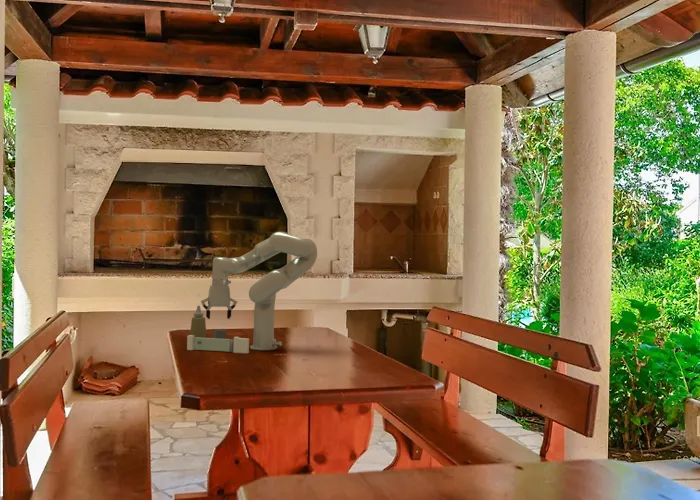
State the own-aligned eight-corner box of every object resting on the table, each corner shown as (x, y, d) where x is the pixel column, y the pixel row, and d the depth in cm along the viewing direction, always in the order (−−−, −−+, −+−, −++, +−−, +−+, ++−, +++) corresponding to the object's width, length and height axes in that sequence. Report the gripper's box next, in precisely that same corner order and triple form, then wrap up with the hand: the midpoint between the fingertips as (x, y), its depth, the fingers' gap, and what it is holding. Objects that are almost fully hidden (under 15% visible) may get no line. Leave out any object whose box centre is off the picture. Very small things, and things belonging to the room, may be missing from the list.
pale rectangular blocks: (249, 352, 345) (249, 337, 345) (247, 353, 342) (247, 338, 342) (189, 349, 352) (189, 334, 352) (186, 349, 349) (187, 334, 349)
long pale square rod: (233, 351, 346) (233, 339, 346) (231, 352, 344) (231, 340, 344) (195, 349, 350) (196, 337, 350) (193, 349, 348) (193, 337, 348)
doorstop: (222, 345, 366) (223, 328, 366) (226, 347, 360) (226, 330, 359) (212, 345, 364) (212, 329, 364) (215, 347, 358) (215, 331, 358)
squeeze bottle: (208, 340, 380) (208, 305, 380) (203, 343, 372) (204, 306, 372) (192, 340, 381) (193, 304, 380) (187, 342, 373) (188, 306, 372)
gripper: (236, 282, 368) (234, 317, 368) (200, 282, 362) (199, 317, 362) (239, 283, 361) (238, 319, 362) (203, 283, 355) (201, 319, 355)
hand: (218, 318), depth 362 cm, fingers open, 9 cm apart
